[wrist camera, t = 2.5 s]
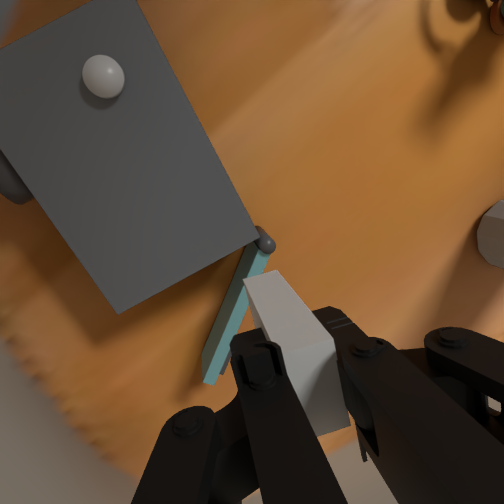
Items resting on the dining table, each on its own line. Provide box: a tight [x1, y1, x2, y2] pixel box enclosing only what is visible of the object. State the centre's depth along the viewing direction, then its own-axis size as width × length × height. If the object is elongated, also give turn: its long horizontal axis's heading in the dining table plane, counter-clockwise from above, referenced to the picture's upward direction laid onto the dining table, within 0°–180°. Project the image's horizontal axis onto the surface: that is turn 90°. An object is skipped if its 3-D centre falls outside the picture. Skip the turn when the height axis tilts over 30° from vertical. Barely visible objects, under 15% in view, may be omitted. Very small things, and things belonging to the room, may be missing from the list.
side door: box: [201, 226, 276, 385], centre depth 32 cm, size 2×13×5 cm, turn 158°
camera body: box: [0, 0, 260, 315], centre depth 28 cm, size 18×14×6 cm
